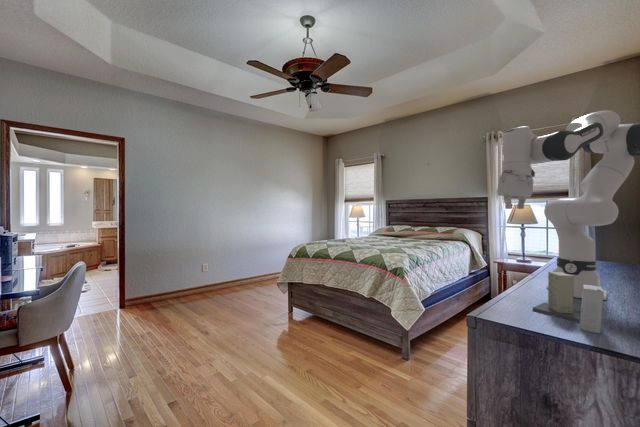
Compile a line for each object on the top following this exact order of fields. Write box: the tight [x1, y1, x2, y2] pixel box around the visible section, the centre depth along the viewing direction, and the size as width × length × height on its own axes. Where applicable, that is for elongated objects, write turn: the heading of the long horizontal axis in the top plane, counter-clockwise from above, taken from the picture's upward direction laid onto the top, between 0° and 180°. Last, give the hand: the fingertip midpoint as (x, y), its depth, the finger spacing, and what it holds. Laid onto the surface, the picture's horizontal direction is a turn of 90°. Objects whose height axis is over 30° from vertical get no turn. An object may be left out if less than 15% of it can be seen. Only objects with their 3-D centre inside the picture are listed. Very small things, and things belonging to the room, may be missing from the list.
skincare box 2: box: [579, 285, 604, 334], centre depth 84 cm, size 6×4×12 cm
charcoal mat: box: [532, 302, 581, 324], centre depth 97 cm, size 10×12×1 cm
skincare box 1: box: [547, 271, 575, 314], centre depth 96 cm, size 6×4×12 cm
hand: (514, 208), depth 109 cm, fingers open, 8 cm apart
